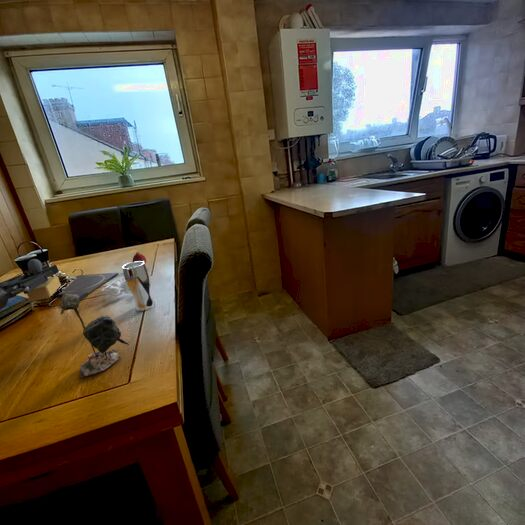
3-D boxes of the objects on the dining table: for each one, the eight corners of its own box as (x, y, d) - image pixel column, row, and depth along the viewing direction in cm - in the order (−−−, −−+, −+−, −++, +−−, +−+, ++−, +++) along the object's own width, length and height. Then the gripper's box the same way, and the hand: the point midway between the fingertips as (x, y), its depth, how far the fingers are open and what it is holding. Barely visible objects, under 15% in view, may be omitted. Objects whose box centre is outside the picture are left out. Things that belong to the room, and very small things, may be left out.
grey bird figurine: (131, 363, 65) (105, 287, 58) (76, 382, 61) (41, 302, 54) (131, 345, 72) (108, 275, 65) (82, 360, 68) (52, 287, 62)
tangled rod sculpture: (119, 282, 120) (115, 273, 118) (152, 274, 120) (149, 266, 119) (98, 302, 101) (93, 292, 100) (137, 293, 102) (133, 283, 100)
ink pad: (61, 303, 103) (60, 299, 102) (71, 296, 107) (70, 293, 107) (78, 302, 102) (77, 298, 101) (87, 295, 107) (86, 292, 106)
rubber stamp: (42, 289, 96) (28, 256, 92) (61, 285, 97) (48, 253, 93) (29, 301, 87) (13, 266, 83) (50, 297, 88) (36, 262, 84)
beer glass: (131, 307, 93) (118, 266, 87) (151, 299, 97) (139, 259, 92) (139, 314, 88) (125, 270, 83) (160, 305, 92) (148, 263, 87)
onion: (142, 270, 127) (137, 254, 124) (132, 270, 129) (127, 254, 126) (150, 265, 132) (146, 249, 129) (141, 265, 134) (136, 249, 131)
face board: (42, 297, 110) (41, 295, 110) (78, 276, 129) (78, 274, 128) (88, 294, 108) (87, 292, 107) (118, 274, 126) (117, 272, 126)
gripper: (-37, 316, 75) (36, 279, 97) (12, 313, 73) (76, 277, 95) (-51, 291, 73) (28, 259, 95) (0, 288, 71) (69, 256, 93)
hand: (52, 268), depth 95 cm, fingers closed on rubber stamp, 2 cm apart
